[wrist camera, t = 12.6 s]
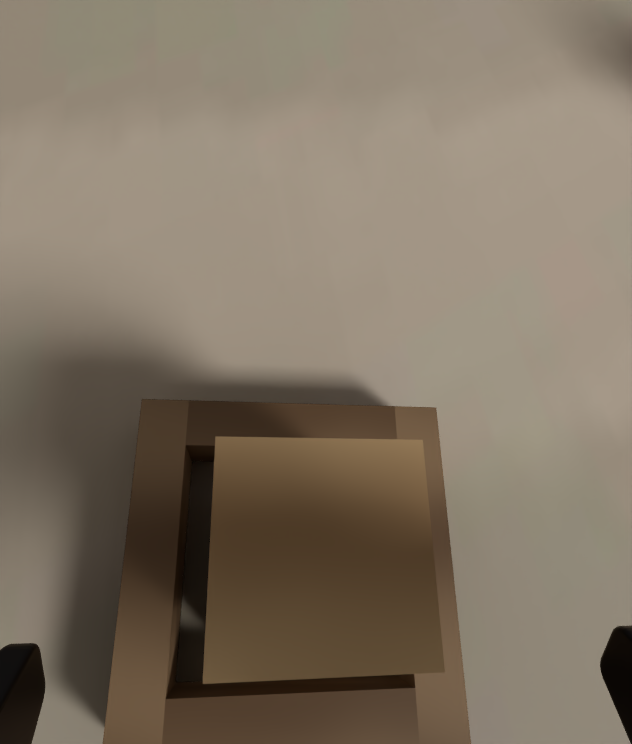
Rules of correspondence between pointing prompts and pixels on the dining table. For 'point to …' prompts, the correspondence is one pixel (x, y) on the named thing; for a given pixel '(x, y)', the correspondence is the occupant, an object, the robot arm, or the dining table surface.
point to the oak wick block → (320, 561)
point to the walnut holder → (165, 583)
